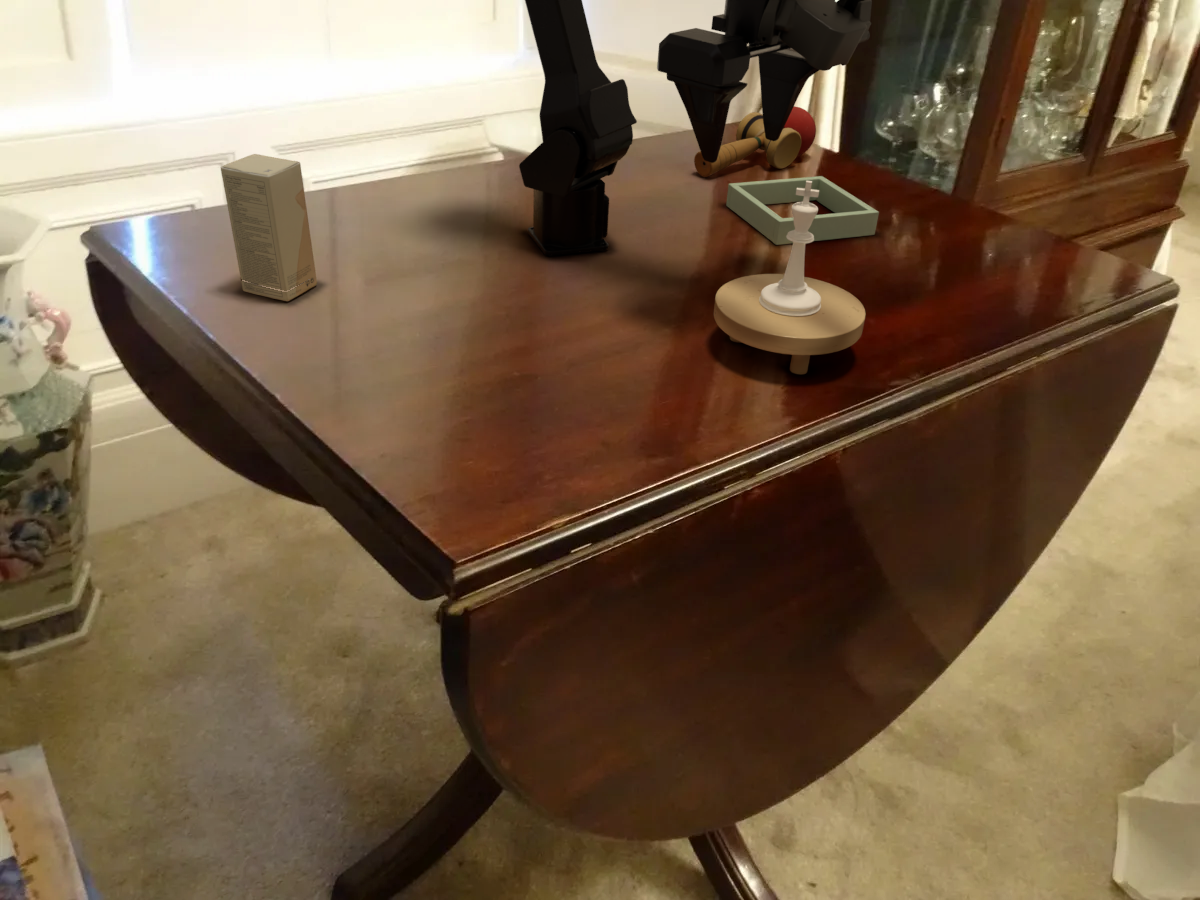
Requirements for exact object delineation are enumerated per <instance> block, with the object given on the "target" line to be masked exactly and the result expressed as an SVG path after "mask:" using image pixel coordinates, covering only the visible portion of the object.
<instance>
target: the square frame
mask: <svg viewBox="0 0 1200 900" xmlns="http://www.w3.org/2000/svg"><path fill="white" fill-rule="evenodd" d="M806 180H807V181H812V186H811V189H814V190H819V195H818V197H810V198H809V202H810V201H816V202H818V203H819V204H820V205H822V206H824V207H826V209H828V210H830V211H831V212H832V213H824V214H816V216H815V218H814V219H813V221H812V224H811V226H810V228H809V229H808V232H810V233H812V234H813V236H814V241H813V242H819V241H829V240H837V239H848V238H856V237H857V238H858V237H868V236H875V234H876V230H877V226H878V225H877V224H878V220H879V214H880V211H878V210H876V209H875V208H874V207H872V206H870V205H868V204H867V203H865V202H864V201H863V200H861V199H860V198H858V197H856V196H854V195H853V194H851V193H850V192H848V191H847V190H845V189H844V188H842V187H840V186H838V185H837V184H836V183H834V182H832V181H830V180H829V179H827V178H826V177H824V176H823V175H817V176H816V175H815V176H805V177H804V176H803V177H795V178H794V177H793V178H781V179H770V180H769V179H768V180H757V181H745V182H731V183H728V185H727V193H726V194H727V195H726V202H725V203H726V204H725V206H726V207H727V208H728V209H730V210H731V211H732V212H734V213H735V214H736V215H737V216H739V217H740V218H741V219H743V220H744V221H745V222H747V223H748V224H749V225H750V226H751V227H753V228H754V229H755V230H756V231H758V232H759V233H761V234H762V235H764V237H765V238H767V239H768V240H770V242H772V243H773V244H774V245H776V246H780V245H790V244H793V242H792V241H790V240H788V239H787V238H786V236H787V234H788V232H789V231H792V230H795V226H794V219H793V216H792V217H791V216H790V217H781V216H780V215H779V214H777V213H776V212H775V211H774V210H772V209H771V208H769V207H768V206H767V205H777V204H778V205H779V204H788V203H789V204H790V203H797V202H802V201H803V198H804V196H800V195H796V189H797V188H805V186H806Z"/></svg>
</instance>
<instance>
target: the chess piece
mask: <svg viewBox="0 0 1200 900" xmlns="http://www.w3.org/2000/svg"><path fill="white" fill-rule="evenodd" d="M811 186H812V181H807V180H806V186H805V188H797V189H796V195H800V196H804V198H803V201H801V202H793V204H792V205H791V215H792V217H793V219H794V226H795V230H792V231H789V232H788V234H787V236H786V238H787V239H788V240H790V241H792V242H793V243H792V246H791V250H790V254H789V257H788V260H787V265H786V268H785V271H784V273H783V274H784V277H783V279H781V280H780V281H779V282H778V283H774V284H770V285H768V286H766V287H764V288H763V289H762V291H761V296H760V298H759V302H760V304H761V305H762V306H763V307H764V308H766V309H767V310H769V311H772V312H774V313H777V314H781V315H786V316H807V315H812V314H814V313H816V312H818V311H819V310H820V308H821V303H820V302H821V297H820V295H819V294H818V293H817V292H816V291H815V290H814V289H812V288H810V287H808V286H807V284H806V283H805V282H804V277H805V258H806V257H805V256H806V245H807V244H811V243H813V242H815V241H814V236H813V234H812V233H810V232H808V229H809V228H810V226H811V224H812V221H813V219H814V218H815V216H816V215H818V212H819V207H818V206H817V205H816V204H814V203H813V202H810V201H809V198H810V197H818V195H819V190H814V189H811Z"/></svg>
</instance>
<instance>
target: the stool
mask: <svg viewBox="0 0 1200 900" xmlns="http://www.w3.org/2000/svg"><path fill="white" fill-rule="evenodd" d="M784 274H785V273H761V274H751V275H745V276H741V277H737V278H734V279H732V280H729V281H728V282H726V283H724V284H722V286H720V287H719V289H718V290H717V291H716V293H715V296H714V297H715V298H714V306H713V319H714V322H715V324H716V325H717V326H718V328H719V329H720V330H722V331H723V333H725V334H726V335H727V336H729V339H730V341H731V342H734V343H739V344H740V343H742V344H744V345H747V346H750V347H752V348H756V349H759V350H762V351H766V352H770V353H776V354H782V355H791V358H790V363H789V371H790V372H791V373H792V374H795V375H805V374H807V373H808V370H809V364H810V359H811V356H818V355H827V354H832V353H837V352H840V351H842V350H845V349H848V348H849V347H852V346H854V345H855V344H856V343H857V342H858V341H859V340H860V339H861V337H862V334H863V330H864V326H865V321H866V316H867V314H866V309H865V307H864V304H863V303H862V302H861V301H860V300H859V299H858V298H857V297H856V296H855V295H853V294H852V293H851V292H849V291H848V290H845V289H843V288H842V287H839V286H837V285H835V284H832V283H829V282H827V281H823V280H820V279H816V278H812V277H808V276H804V282H805V283H806V284H807V286H808V287H810V288H812V289H814V290H815V291H816V292H817V293H818V294H819V295H820V297H821V302H820V303H821V308H820V310H819V311H818V312H816V313H814V314H812V315H807V316H786V315H781V314H777V313H774V312H772V311H769V310H767V309H766V308H764V307H763V306H762V305H761V304H760V302H759V298H760V296H761V291H762V289H763V288H764V287H766V286H768V285H770V284H774V283H778V282H779V281H780V280H781V279H783V277H784Z"/></svg>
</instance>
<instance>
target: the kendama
mask: <svg viewBox="0 0 1200 900" xmlns="http://www.w3.org/2000/svg"><path fill="white" fill-rule="evenodd" d="M816 126H817V125H816V122H815V120H814V118H813V116H812V115H811V114H810V113H809V111H808V110H806V109H804V108H802V107H799V106H795V105H794V107H793V109H792V111H791V113H790V115H789V117H788V120H787V122H786V124H785V126H784V128H783V130H782V132H781V134H780V137H779V139H778V140H777V141H771V140H768V139H766V137H765V131H764V124H763V113H760V112H757V111H752V112H750V113H748V114H747V115H745V116H744V117H743V118H742V119H741V121H740V123H739V124H738V126H737V128H736V133H735V139H736V140H735V141H732V142H728V143H725V144H721V147H720V151H719V154H718V158H717V161H716V162H714V163H711V162H708V161H705V160H704V159H703V157H702V154H701V151H697V152H696V154H695V155H694V159H693V163H694V168H695V171H696V172H697V173H698V174H699V176H701V177H703V178H708V177H710V176H712V175H714V174H716V173H717V172H719V171H721V170H723V169H725V168H727V167H728V166H731V165H733V164H735V163H737V162H739V161H741V160H743V159H745V158H746V157H748V156H749V155H751V154H753V153H754V152H757V151H758V150H761V151H765V153H766V161H767V163H768V164H769V165H770V166H771V167H773V168H775V169H778V170H783V169H786V168H787V167H789V166H790V165H791V164H793V162H794V161H795V159H796V158H797V157H798V156H802V155H803V154H804V153H805V152H807V151H808V150H809V149H810V148H811V147H812V145H813V144H814V141H815V139H816V134H817V127H816Z"/></svg>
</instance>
